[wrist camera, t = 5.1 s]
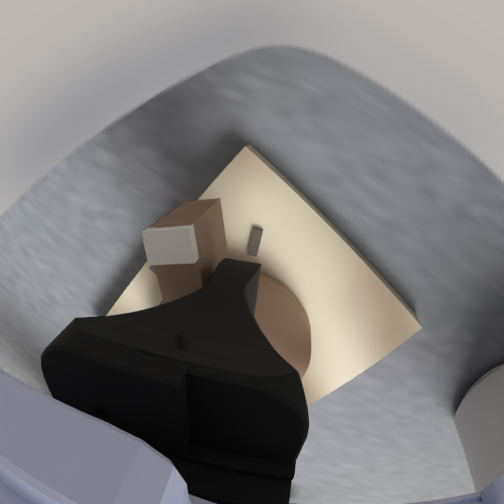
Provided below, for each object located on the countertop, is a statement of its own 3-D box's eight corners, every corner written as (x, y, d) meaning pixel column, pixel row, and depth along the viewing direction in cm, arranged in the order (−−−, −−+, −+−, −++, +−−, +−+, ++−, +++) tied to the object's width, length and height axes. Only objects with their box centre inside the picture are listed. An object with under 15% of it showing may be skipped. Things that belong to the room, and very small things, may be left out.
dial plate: (242, 428, 20) (239, 443, 19) (102, 322, 18) (91, 335, 17) (416, 315, 15) (423, 330, 14) (249, 144, 13) (244, 146, 12)
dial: (311, 389, 16) (309, 462, 12) (179, 384, 18) (150, 448, 13) (304, 185, 12) (307, 221, 8) (130, 202, 14) (63, 239, 9)
